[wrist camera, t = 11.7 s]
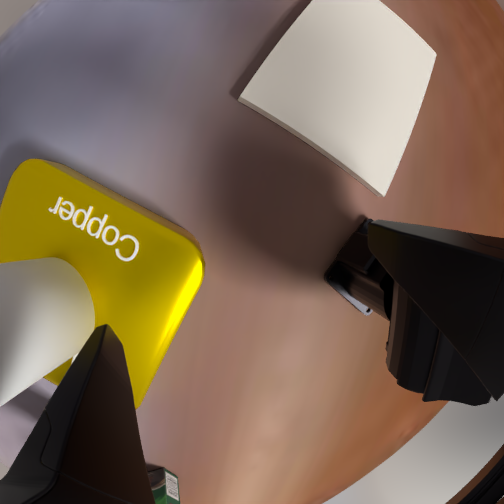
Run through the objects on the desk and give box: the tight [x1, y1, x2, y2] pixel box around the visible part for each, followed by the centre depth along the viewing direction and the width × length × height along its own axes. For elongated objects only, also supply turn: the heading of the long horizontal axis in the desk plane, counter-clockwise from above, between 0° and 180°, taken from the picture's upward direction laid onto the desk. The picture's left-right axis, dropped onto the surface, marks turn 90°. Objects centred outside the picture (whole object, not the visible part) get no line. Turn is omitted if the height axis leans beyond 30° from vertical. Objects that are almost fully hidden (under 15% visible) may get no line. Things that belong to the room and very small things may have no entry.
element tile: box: [0, 159, 205, 410], centre depth 17 cm, size 15×15×5 cm
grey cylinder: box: [0, 257, 95, 407], centre depth 9 cm, size 6×6×10 cm
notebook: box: [237, 0, 436, 197], centre depth 20 cm, size 14×20×1 cm
